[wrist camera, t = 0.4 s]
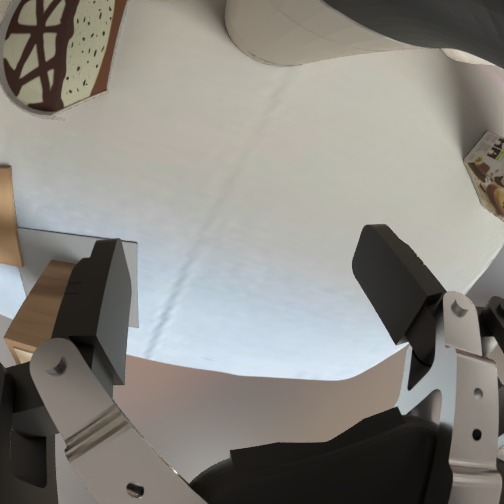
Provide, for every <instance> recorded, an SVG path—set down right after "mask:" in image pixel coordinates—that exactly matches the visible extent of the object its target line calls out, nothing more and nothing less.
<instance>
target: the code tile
mask: <svg viewBox="0 0 504 504" xmlns="http://www.w3.org/2000/svg"><path fill="white" fill-rule="evenodd" d="M17 233H18V238H19V244H20V249H21V254H22V259H23V263H24V266H23V267H19V271H20V275H21V278H22V282H23V286H24V289H25V293H26V296H28V294H29V293H30V291H31V290H32V288H33V286H34V285H35V283H36V282H37V280H38V279H39V277H40V276H41V274H42V273H43V271H44V270H45V268H46V267H47V266H48V264H49V263H50V261H51V260H55V261H61V262H67V263H74V264H77V263H78V262H79V261H80V260H81V259H82V258H87V257H90V256H91V253H92V250H93V247H94V244H95V242H96V241H97V240H105V239H102V238H95V237H87V236H79V235H71V234H64V233H56V232H48V231H41V230H33V229H26V228H18V227H17ZM121 242H122V245H123V249H124V254H125V258H126V262H127V266H128V270H129V274H130V278H131V286H132V296H131V305H130V314H129V324H128V327H134V328H139V319H138V292H137V243H134V242H126V241H121Z"/></svg>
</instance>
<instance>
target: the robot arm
mask: <svg viewBox="0 0 504 504" xmlns="http://www.w3.org/2000/svg"><path fill="white" fill-rule="evenodd" d="M225 25H226V29H227V32H228V34H229V36H230V38H231V40H232V41H233V42H234V44H235V45H236V46H237V47H238V48H239V49H240V50H241V51H242V52H243V53H245V54H246V55H247V56H249V57H251V58H252V59H254V60H256V61H258V62H261V63H264V64H267V65H272V66H279V67H286V66H297V65H302V64H305V63H311V62H316V61H321V60H326V59H332V58H338V57H344V56H350V55H357V54H365V53H373V52H383V51H392V50H406V49H432V48H448V49H456V50H460V51H464V52H467V53H469V54H472V55H474V56H477V57H479V58H481V59H484V60H486V61H488V62H490V63H492V64H495V65H497V66H499V67H501V68H503V69H504V0H226V7H225ZM352 270H353V274H354V276H355V278H356V279H357V281H358V282H359V284H360V286H361V287H362V289H363V291H364V292H365V294H366V295H367V297H368V299H369V300H370V302H371V304H372V305H373V307H374V309H375V310H376V312H377V314H378V315H379V317H380V319H381V320H382V322H383V324H384V326H385V327H386V329H387V331H388V333H389V334H390V336H391V338H392V340H393V341H394V343H395V345H399V344H403V343H406V342H409V343H410V347H409V348H408V350H407V353H406V360H405V367H404V374H403V380H402V386H401V392H400V396H399V399H398V401H397V403H396V405H395V406H394V408H392V409H389V410H387V411H384V412H382V413H379V414H376V415H373V416H371V417H368V418H365V419H363V420H362V421H360V422H359V423H357V424H356V425H354V426H353V427H351V428H350V429H348V430H346V431H345V432H343V433H341V434H340V435H338V436H337V437H335V438H333V439H332V440H330V441H327V442H318V443H280V442H278V443H272V444H267V445H262V446H255V447H250V448H243V449H236V450H230V458H228V459H226V460H223V461H221V462H219V463H217V464H215V465H213V466H211V467H209V468H208V469H206V470H205V471H203V472H201V473H200V474H199V475H198V476H197V477H195V478H194V479H193V480H192V482H190V484H189V483H188V482H187V481H186V480H185V479H183V478H182V477H181V476H180V475H179V474H178V473H177V472H176V471H175V470H174V469H173V468H172V467H171V466H170V465H169V464H168V463H167V462H166V461H165V460H164V459H163V458H162V457H161V456H160V455H159V454H158V453H157V451H156V450H154V448H153V447H152V446H151V445H150V444H149V443H148V442H147V441H146V439H145V438H144V437H143V436H142V435H141V434H140V433H139V432H138V430H137V429H136V428H135V427H134V425H133V424H132V423H131V422H130V421H129V420H128V418H127V417H126V416H125V414H124V413H123V412H122V411H121V409H120V408H119V407H118V405H117V404H116V403H115V402H114V400H113V399H112V396H113V385H124V384H125V363H126V348H127V335H128V324H129V314H130V305H131V296H132V286H131V278H130V274H129V270H128V266H127V262H126V258H125V254H124V249H123V245H122V242H121V240H120V239H119V238H117V239H105V240H97V241H96V242H95V244H94V247H93V250H92V253H91V256H90V257H87V258H82V259H81V260H80V261H79V262H78V263H77V265H76V266H75V267H74V268H73V269H72V272H71V274H70V277H69V280H68V285H67V286H66V289H65V292H64V296H63V298H62V301H61V304H60V308H59V311H58V314H57V318H56V321H55V325H54V328H53V332H52V336H51V339H50V340H47V341H45V342H43V343H42V344H41V345H40V346H39V347H38V348H37V349H36V350H35V351H34V353H33V355H32V357H31V360H30V361H28V362H25V363H22V364H19V365H16V366H12V367H8V368H5V367H4V366H3V365H2V364H1V363H0V504H58V494H57V484H56V467H55V434H58V433H60V434H61V436H62V438H63V439H64V441H65V443H66V446H67V448H66V449H65V455H66V457H67V460H68V461H69V463H70V465H71V467H72V468H73V470H74V471H75V473H76V474H77V475H78V477H79V478H80V480H81V481H82V483H83V484H84V485H85V487H86V488H87V489H88V491H89V492H90V493H91V495H92V496H93V497H94V499H95V500H96V501H97V502H98V504H504V385H503V384H502V383H501V382H500V380H499V378H498V376H497V367H496V363H495V362H494V361H493V360H492V359H489V358H487V356H488V355H489V354H490V353H491V352H492V351H493V349H494V348H495V347H496V346H497V345H498V344H499V346H500V348H501V349H502V351H503V353H504V299H502V298H500V297H497V296H494V297H492V298H491V299H490V300H489V302H488V303H487V304H486V306H485V307H475V306H474V304H473V303H472V302H471V300H469V298H467V297H466V296H465V295H463V294H461V293H459V292H456V291H448V292H447V291H446V290H445V289H444V288H443V286H442V285H441V284H440V282H439V281H438V280H437V279H436V277H435V276H434V275H433V274H432V272H431V271H430V270H429V269H428V268H427V266H426V265H423V262H422V260H421V259H420V258H419V257H417V255H416V253H415V252H414V251H413V250H412V249H411V248H410V246H409V245H407V244H406V243H404V242H403V241H402V240H400V239H399V238H398V237H397V236H396V234H395V233H394V232H393V231H392V230H391V229H390V228H389V227H388V226H387V225H385V224H374V225H366V226H364V228H363V229H362V232H361V235H360V238H359V242H358V245H357V248H356V251H355V254H354V257H353V260H352ZM10 440H11V444H10Z"/></svg>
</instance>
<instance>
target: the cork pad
mask: <svg viewBox="0 0 504 504" xmlns="http://www.w3.org/2000/svg"><path fill="white" fill-rule="evenodd" d="M0 263H2V264H7V265H12V266H17V267H23V266H24V263H23V259H22V254H21V249H20V244H19V238H18V233H17V221H16V214H15V206H14V197H13V186H12V171H11V167H0Z"/></svg>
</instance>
